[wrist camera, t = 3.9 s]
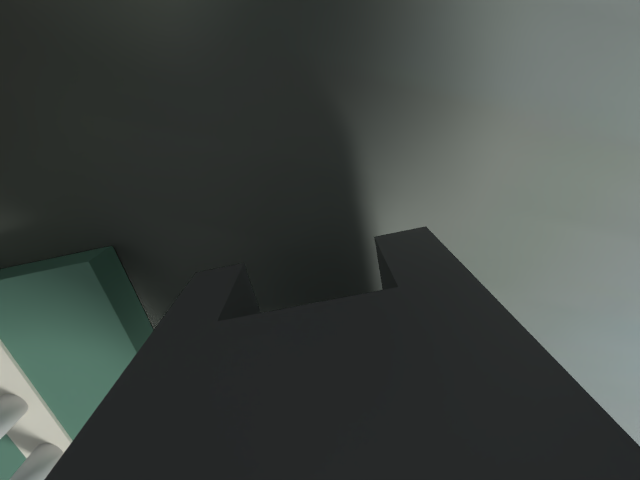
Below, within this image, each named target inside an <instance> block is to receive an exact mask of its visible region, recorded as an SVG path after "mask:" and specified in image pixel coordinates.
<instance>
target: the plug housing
mask: <svg viewBox="0 0 640 480" xmlns="http://www.w3.org/2000/svg"><path fill="white" fill-rule="evenodd" d="M374 238H375V244H376V251H377V257H378V263H379V270H380V276H381V282H382V289H383V290H380V291H374V292H369V293H364V294H358V295H353V296H348V297H343V298H337V299H332V300H327V301H322V302H316V303H311V304H306V305H301V306H295V307H290V308H285V309H279V310H274V311H269V312H264V313H260V310H259V307H258V304H257V301H256V298H255V295H254V292H253V289H252V286H251V283H250V280H249V276H248V273H247V270H246V267H245V264H244V263H241V264H236V265H231V266H226V267H221V268H216V269H211V270H206V271H201V272H196V273H195V274H194V276H193V277H192V279H191V280H190V281H189V283H188V284H187V285H186V287H185V288H184V289H183V291H182V292H181V294H180V295H179V296H178V298H177V299H176V300H175V302H174V303H173V304H172V306H171V307H170V309H169V310H168V311H167V313H166V314H165V315H164V317H163V318H162V320H161V321H160V322H159V324H158V325H157V326H156V328H155V329H154V330H153V332H152V333H151V335H150V336H149V337H148V339H147V340H146V341H145V343H144V344H143V345H142V347H141V348H140V350H139V351H138V352H137V354H136V355H135V356H134V358H133V359H132V361H131V362H130V363H129V365H128V366H127V367H126V369H125V370H124V371H123V373H122V374H121V376H120V377H119V378H118V380H117V381H116V382H115V384H114V385H113V386H112V388H111V389H110V391H109V392H108V393H107V395H106V396H105V397H104V399H103V400H102V401H101V403H100V404H99V406H98V407H97V408H96V410H95V411H94V412H93V414H92V415H91V417H90V418H89V419H88V421H87V422H86V423H85V425H84V426H83V427H82V429H81V430H80V432H79V433H78V434H77V436H76V437H75V438H74V440H73V441H72V442H71V444H70V445H69V447H68V448H67V449H66V451H65V452H64V453H63V455H62V456H61V458H60V459H59V460H58V462H57V463H56V464H55V466H54V467H53V468H52V470H51V471H50V473H49V474H48V475H47V477H46V478H45V479H44V480H640V446H639V445H638V444H637V443H636V442H635V441H634V440H633V439H632V438H631V437H630V436H629V435H628V434H627V433H626V432H625V431H624V430H623V429H622V428H621V427H620V426H619V425H618V424H617V423H616V422H615V421H614V420H613V418H612V417H611V416H610V415H609V414H608V413H607V412H606V411H605V410H604V409H603V408H602V407H601V406H600V405H599V404H598V403H597V402H596V401H595V400H594V399H593V398H592V397H591V396H590V395H589V394H588V393H587V392H586V391H585V390H584V389H583V388H582V387H581V386H580V385H579V384H578V382H577V381H576V380H575V379H574V378H573V377H572V376H571V375H570V374H569V373H568V372H567V371H566V370H565V369H564V368H563V367H562V366H561V365H560V364H559V363H558V362H557V361H556V360H555V359H554V358H553V357H552V356H551V355H550V354H549V353H548V352H547V351H546V350H545V349H544V348H543V346H542V345H541V344H540V343H539V342H538V341H537V340H536V339H535V338H534V337H533V336H532V335H531V334H530V333H529V332H528V331H527V330H526V329H525V328H524V327H523V326H522V325H521V324H520V323H519V322H518V321H517V320H516V319H515V318H514V317H513V316H512V315H511V314H510V313H509V312H508V310H507V309H506V308H505V307H504V306H503V305H502V304H501V303H500V302H499V301H498V300H497V299H496V298H495V297H494V296H493V295H492V294H491V293H490V292H489V291H488V290H487V289H486V288H485V287H484V286H483V285H482V284H481V283H480V282H479V281H478V280H477V279H476V278H475V277H474V276H473V274H472V273H471V272H470V271H469V270H468V269H467V268H466V267H465V266H464V265H463V264H462V263H461V262H460V261H459V260H458V259H457V258H456V257H455V256H454V255H453V254H452V253H451V252H450V251H449V250H448V249H447V248H446V247H445V246H444V245H443V244H442V243H441V242H440V241H439V240H438V238H437V237H436V236H435V235H434V234H433V233H432V232H431V231H430V230H429V229H428V228H427V227H421V228H416V229H411V230H406V231H401V232H396V233H391V234H386V235H381V236H376V237H374Z"/></svg>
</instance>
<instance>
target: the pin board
mask: <svg viewBox="0 0 640 480" xmlns="http://www.w3.org/2000/svg"><path fill="white" fill-rule="evenodd" d="M152 332H153V328H152V326H151V324H150V322H149V320H148V318H147V316H146V314H145V312H144V309H143V307H142V305H141V303H140V301H139V299H138V297H137V295H136V293H135V291H134V289H133V287H132V285H131V283H130V281H129V279H128V277H127V275H126V273H125V271H124V269H123V267H122V265H121V262H120V260H119V258H118V256H117V254H116V252H115V250H114V248H113V246H108V247H103V248H99V249H94V250H89V251H84V252H80V253H75V254H70V255H65V256H61V257H56V258H51V259H46V260H42V261H37V262H32V263H27V264H23V265H18V266H13V267H8V268H4V269H0V480H44V479H45V478H46V477H47V475H48V474H49V473H50V471H51V470H52V468H53V467H54V466H55V464H56V463H57V462H58V460H59V459H60V458H61V456H62V455H63V453H64V452H65V451H66V449H67V448H68V447H69V445H70V444H71V442H72V441H73V440H74V438H75V437H76V436H77V434H78V433H79V432H80V430H81V429H82V427H83V426H84V425H85V423H86V422H87V421H88V419H89V418H90V417H91V415H92V414H93V412H94V411H95V410H96V408H97V407H98V406H99V404H100V403H101V401H102V400H103V399H104V397H105V396H106V395H107V393H108V392H109V391H110V389H111V388H112V386H113V385H114V384H115V382H116V381H117V380H118V378H119V377H120V376H121V374H122V373H123V371H124V370H125V369H126V367H127V366H128V365H129V363H130V362H131V361H132V359H133V358H134V356H135V355H136V354H137V352H138V351H139V350H140V348H141V347H142V345H143V344H144V343H145V341H146V340H147V339H148V337H149V336H150V335H151V333H152Z"/></svg>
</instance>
